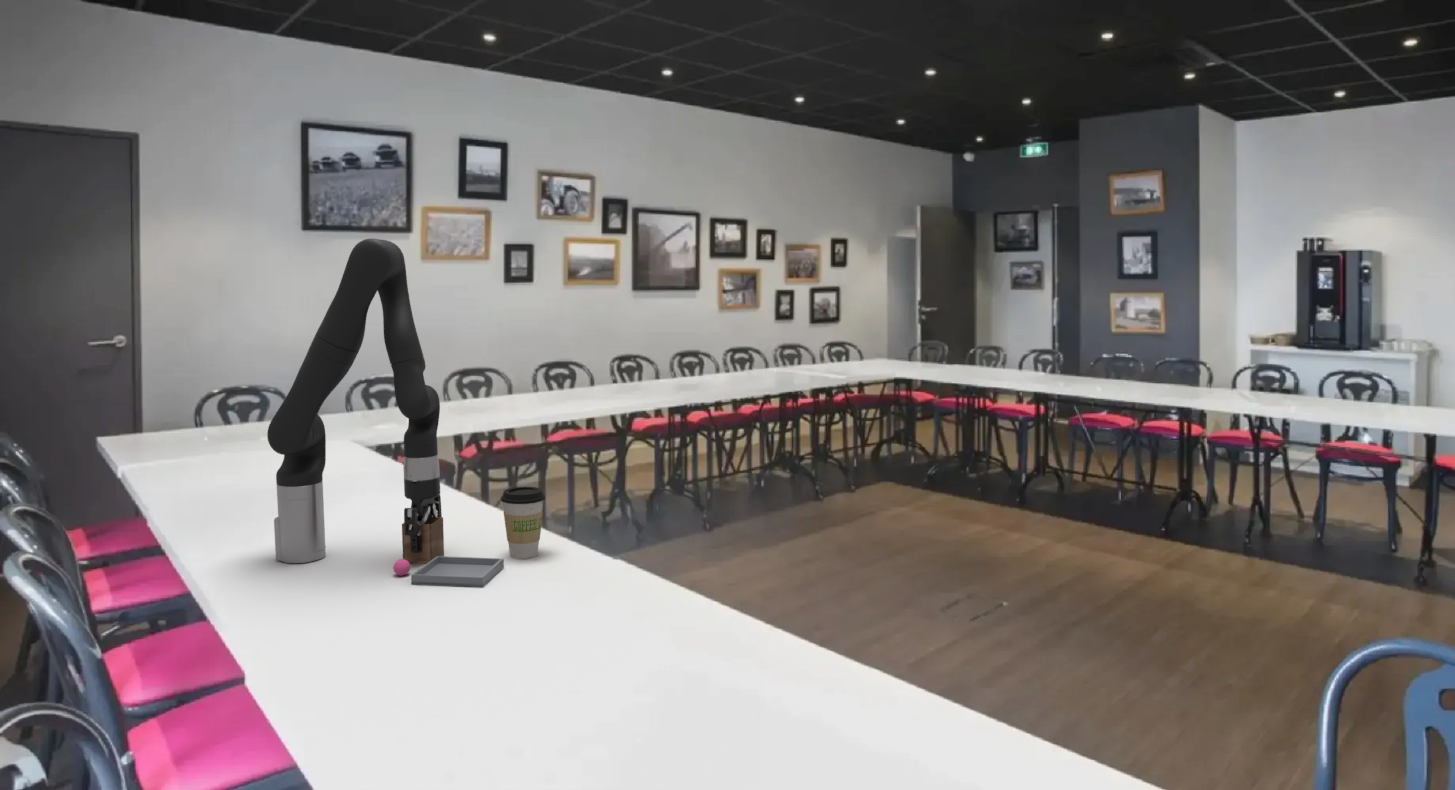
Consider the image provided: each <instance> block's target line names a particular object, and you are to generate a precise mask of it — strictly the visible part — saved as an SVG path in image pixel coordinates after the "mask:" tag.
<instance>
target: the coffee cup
mask: <svg viewBox="0 0 1455 790" xmlns="http://www.w3.org/2000/svg"><path fill="white" fill-rule="evenodd" d="M545 499H546V496H545V494H544V493H543V489H542V488H540V487H536V486H515V487H511V488H507V489H504V490H503V492H502V495H501V497H500V501H501V502H502V505H503V519H504V525H505V534H506V541H507V544H508V551H509V556H510V558H512V559H516V560H525V559H526V560H527V559H532V558H535V557H537V556H538V553H539V546H540V545H539V544H540V539H541V533H542V532H541V531H542V521H543V514H544V510H543V504H544V501H545Z"/></svg>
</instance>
